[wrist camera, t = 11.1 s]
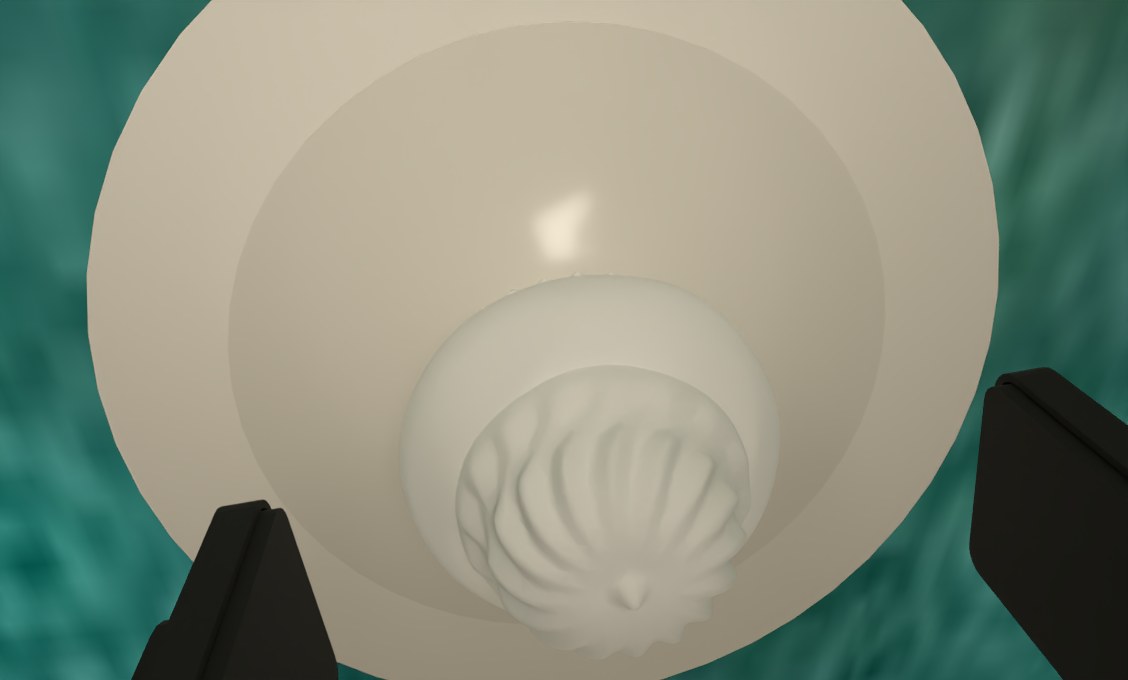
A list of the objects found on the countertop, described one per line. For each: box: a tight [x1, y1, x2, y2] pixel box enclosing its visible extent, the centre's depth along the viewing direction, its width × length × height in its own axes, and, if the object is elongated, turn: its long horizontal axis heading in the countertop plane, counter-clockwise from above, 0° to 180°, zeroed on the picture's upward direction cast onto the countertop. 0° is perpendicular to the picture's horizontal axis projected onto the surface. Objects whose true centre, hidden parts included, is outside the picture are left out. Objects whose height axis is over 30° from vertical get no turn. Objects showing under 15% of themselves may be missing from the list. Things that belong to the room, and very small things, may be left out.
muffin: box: [399, 272, 780, 659], centre depth 14 cm, size 6×6×7 cm
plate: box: [87, 0, 999, 680], centre depth 18 cm, size 18×18×1 cm
